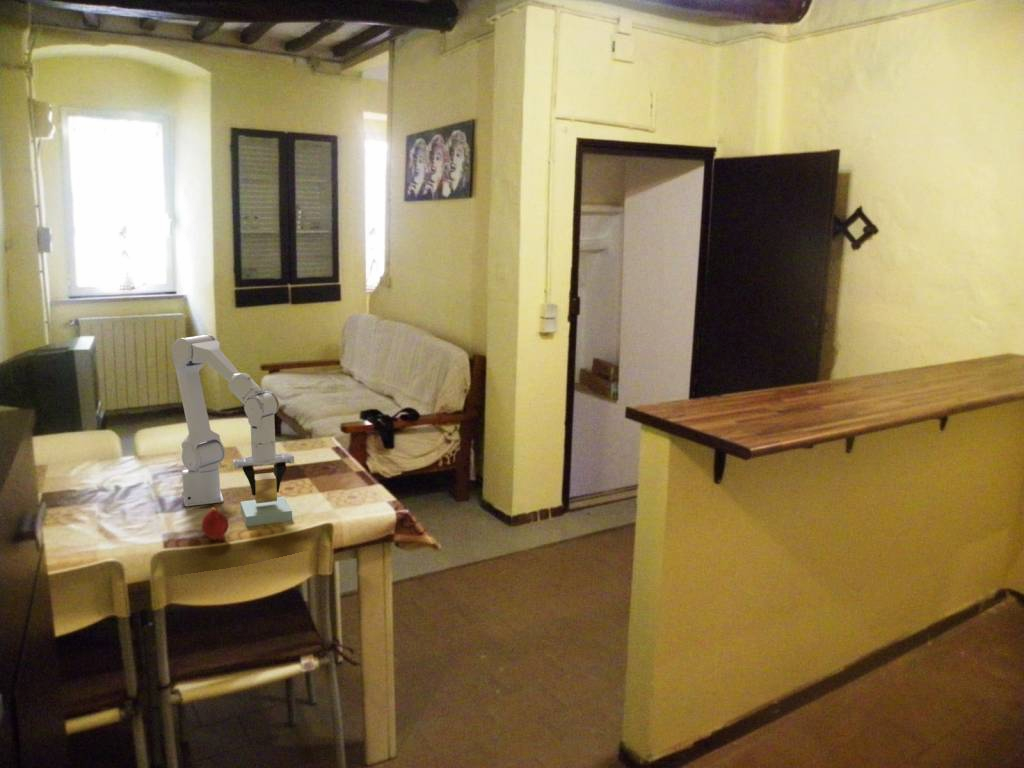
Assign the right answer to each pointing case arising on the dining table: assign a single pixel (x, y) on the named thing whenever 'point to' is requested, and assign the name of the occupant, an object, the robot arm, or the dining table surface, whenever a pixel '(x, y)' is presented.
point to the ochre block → (265, 488)
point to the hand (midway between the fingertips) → (265, 492)
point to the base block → (266, 512)
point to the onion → (214, 524)
